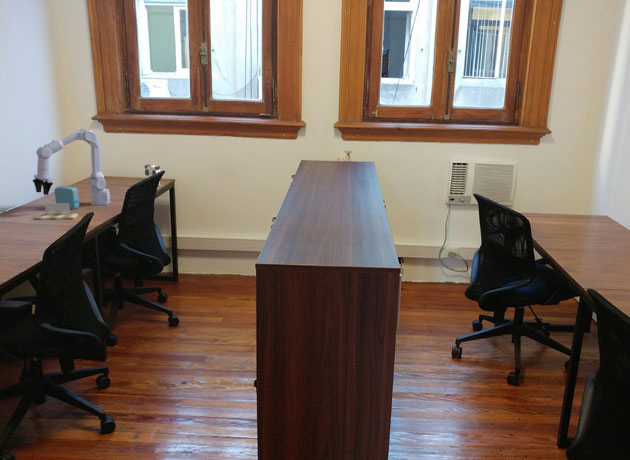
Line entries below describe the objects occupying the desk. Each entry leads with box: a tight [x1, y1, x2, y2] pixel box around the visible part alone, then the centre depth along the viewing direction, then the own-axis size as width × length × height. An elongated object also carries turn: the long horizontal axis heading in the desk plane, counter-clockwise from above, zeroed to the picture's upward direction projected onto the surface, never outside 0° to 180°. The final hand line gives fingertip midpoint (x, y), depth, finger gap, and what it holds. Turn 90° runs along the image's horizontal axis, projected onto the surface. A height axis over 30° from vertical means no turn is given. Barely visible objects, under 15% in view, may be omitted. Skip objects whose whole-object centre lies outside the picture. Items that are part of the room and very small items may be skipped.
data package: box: [54, 185, 80, 210], centre depth 318 cm, size 12×4×12 cm, turn 77°
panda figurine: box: [144, 164, 161, 186], centre depth 375 cm, size 12×11×15 cm
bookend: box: [33, 202, 79, 221], centre depth 298 cm, size 20×8×7 cm, turn 97°
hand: (42, 193), depth 307 cm, fingers open, 7 cm apart
